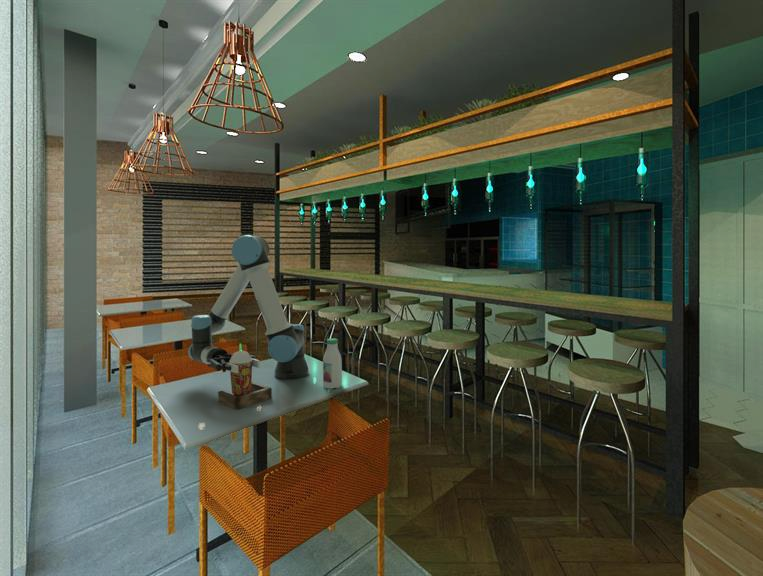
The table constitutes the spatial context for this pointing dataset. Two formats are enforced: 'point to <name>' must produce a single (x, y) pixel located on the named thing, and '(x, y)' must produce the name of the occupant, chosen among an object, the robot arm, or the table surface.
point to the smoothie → (241, 373)
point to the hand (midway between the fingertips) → (248, 366)
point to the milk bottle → (332, 365)
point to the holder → (246, 396)
